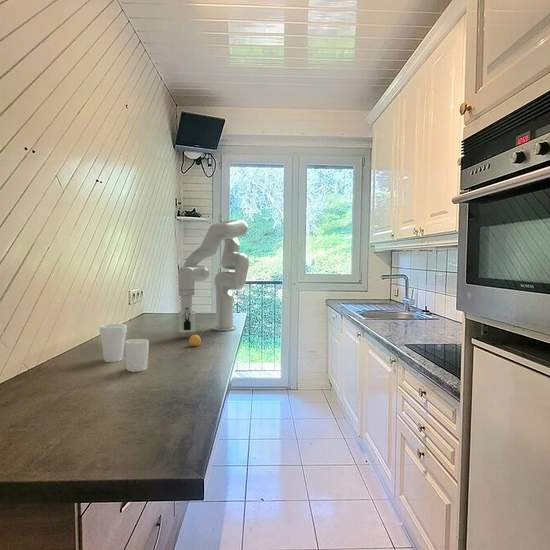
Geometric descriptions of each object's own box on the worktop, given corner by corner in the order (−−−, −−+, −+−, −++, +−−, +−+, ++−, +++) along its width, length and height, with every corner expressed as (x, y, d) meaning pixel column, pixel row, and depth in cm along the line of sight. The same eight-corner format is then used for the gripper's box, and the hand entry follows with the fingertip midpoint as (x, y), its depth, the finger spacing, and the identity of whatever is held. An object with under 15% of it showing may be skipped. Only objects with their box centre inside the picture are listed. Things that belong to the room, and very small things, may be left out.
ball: (189, 344, 177) (189, 333, 177) (200, 344, 178) (200, 333, 178) (189, 347, 172) (189, 336, 172) (201, 347, 173) (201, 335, 173)
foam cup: (94, 360, 147) (94, 326, 147) (114, 355, 156) (114, 322, 155) (111, 364, 143) (111, 329, 142) (131, 358, 151) (132, 325, 151)
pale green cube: (179, 329, 195) (178, 311, 194) (195, 328, 197) (194, 310, 196) (179, 332, 188) (178, 314, 187) (195, 331, 189) (195, 313, 189)
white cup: (152, 366, 142) (152, 339, 141) (142, 373, 134) (143, 344, 133) (131, 365, 142) (131, 338, 142) (120, 371, 135) (120, 342, 134)
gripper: (178, 290, 198) (179, 324, 200) (178, 294, 181) (179, 332, 183) (193, 290, 200) (194, 324, 202) (195, 294, 183) (195, 331, 185)
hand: (187, 327), depth 192 cm, fingers closed on pale green cube, 7 cm apart
